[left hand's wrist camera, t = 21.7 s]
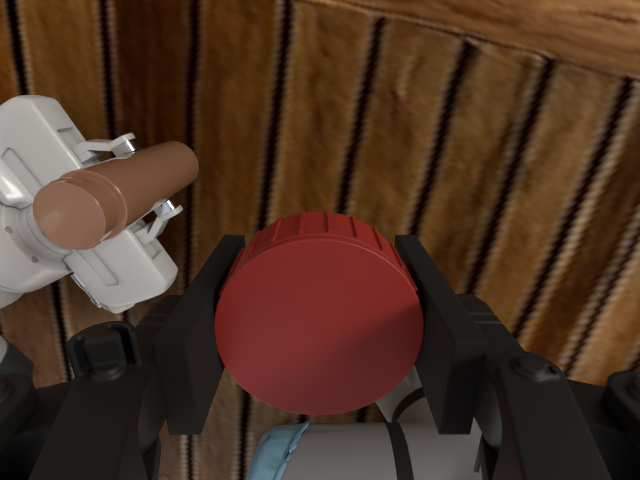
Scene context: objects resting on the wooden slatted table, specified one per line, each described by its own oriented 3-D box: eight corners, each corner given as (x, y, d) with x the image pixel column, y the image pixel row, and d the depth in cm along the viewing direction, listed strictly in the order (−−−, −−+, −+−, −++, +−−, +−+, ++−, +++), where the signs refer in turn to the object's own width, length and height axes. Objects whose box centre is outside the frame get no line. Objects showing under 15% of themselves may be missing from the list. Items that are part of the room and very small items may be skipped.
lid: (443, 290, 12) (470, 332, 10) (322, 390, 14) (323, 446, 12) (314, 169, 11) (313, 187, 8) (195, 297, 12) (168, 341, 10)
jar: (141, 156, 39) (8, 204, 22) (178, 131, 38) (67, 160, 21) (172, 196, 40) (70, 267, 24) (208, 172, 39) (127, 229, 23)
